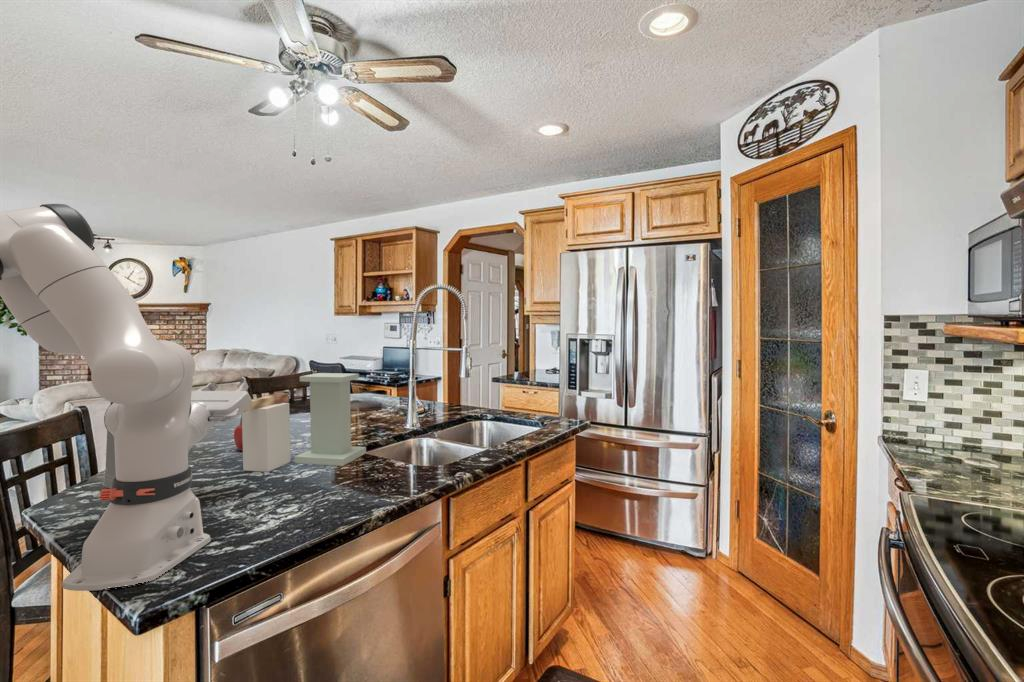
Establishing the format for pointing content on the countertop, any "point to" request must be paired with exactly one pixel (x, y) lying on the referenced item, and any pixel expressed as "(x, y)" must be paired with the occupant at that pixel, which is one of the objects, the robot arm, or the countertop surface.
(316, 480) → the countertop surface
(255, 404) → the bar
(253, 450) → the rest block
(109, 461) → the skincare box
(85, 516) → the countertop surface
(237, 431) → the vegetable
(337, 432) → the shelf stand
